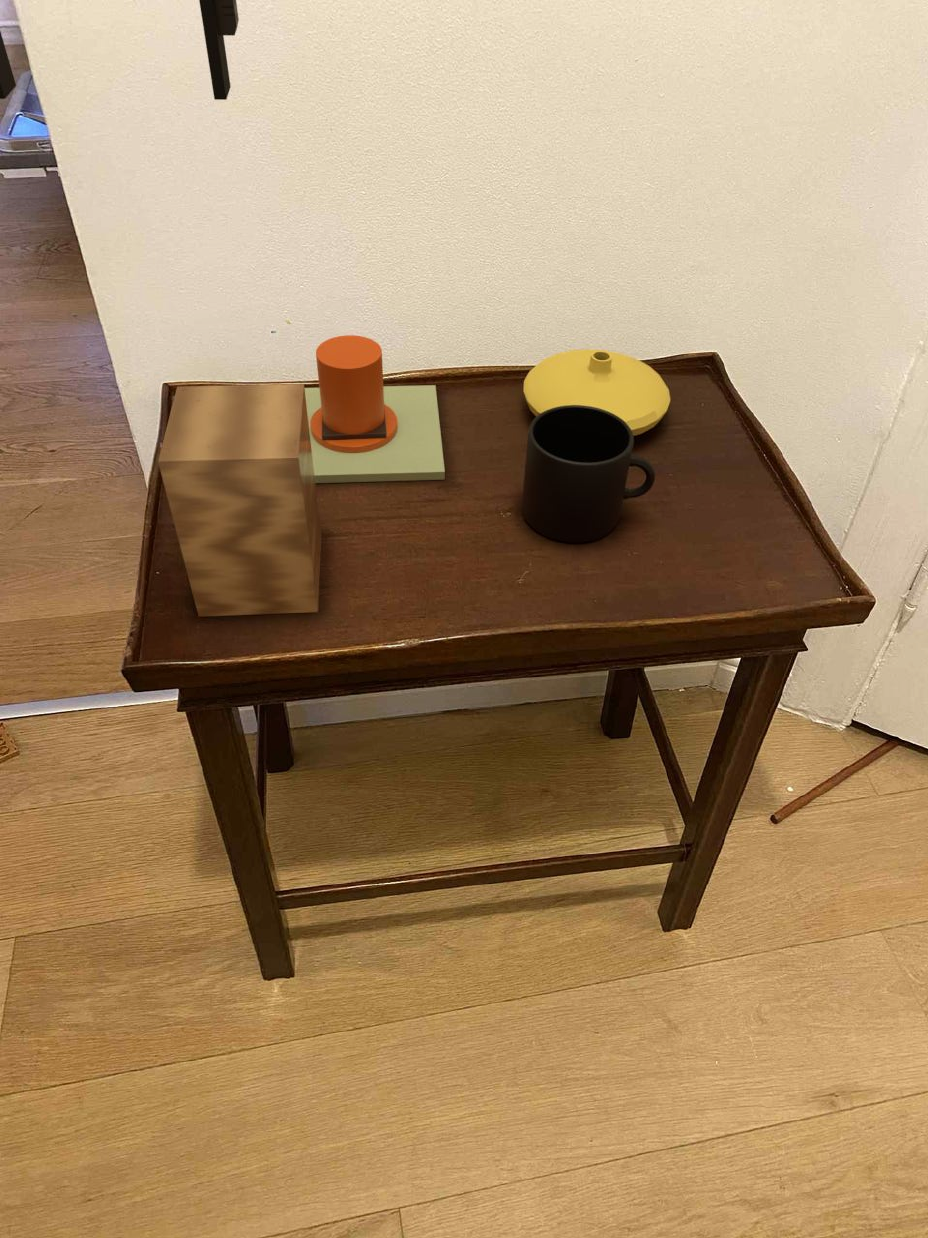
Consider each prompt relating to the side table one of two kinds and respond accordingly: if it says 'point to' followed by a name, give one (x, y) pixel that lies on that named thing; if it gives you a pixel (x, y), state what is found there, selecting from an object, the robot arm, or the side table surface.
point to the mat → (399, 459)
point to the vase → (599, 386)
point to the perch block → (244, 498)
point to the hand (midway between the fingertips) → (114, 93)
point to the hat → (352, 396)
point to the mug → (579, 472)
